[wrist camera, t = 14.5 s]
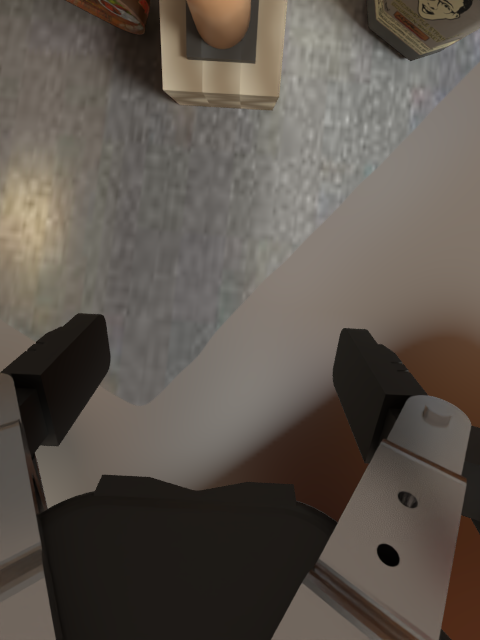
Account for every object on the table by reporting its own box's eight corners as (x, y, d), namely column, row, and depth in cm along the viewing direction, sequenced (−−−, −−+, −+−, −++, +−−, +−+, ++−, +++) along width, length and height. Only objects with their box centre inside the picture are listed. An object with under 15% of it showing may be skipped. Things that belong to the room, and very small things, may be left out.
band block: (179, 104, 35) (160, 87, 28) (177, -20, 31) (153, -83, 23) (272, 110, 36) (279, 94, 28) (282, -14, 31) (294, -74, 23)
